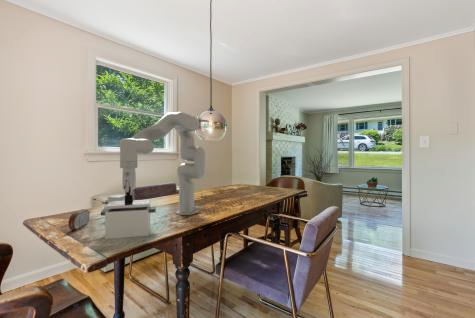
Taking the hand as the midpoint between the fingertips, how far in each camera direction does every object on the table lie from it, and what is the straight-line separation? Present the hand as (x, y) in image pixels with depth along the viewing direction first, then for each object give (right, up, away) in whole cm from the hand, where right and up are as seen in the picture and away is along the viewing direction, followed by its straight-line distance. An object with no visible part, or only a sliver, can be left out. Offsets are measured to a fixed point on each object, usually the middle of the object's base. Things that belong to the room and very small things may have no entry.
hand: (128, 203), depth 115 cm
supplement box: (-19, -14, +28) cm, 37 cm away
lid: (-1, -1, +4) cm, 4 cm away
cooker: (-1, -14, +4) cm, 15 cm away
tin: (-29, -14, +9) cm, 34 cm away
